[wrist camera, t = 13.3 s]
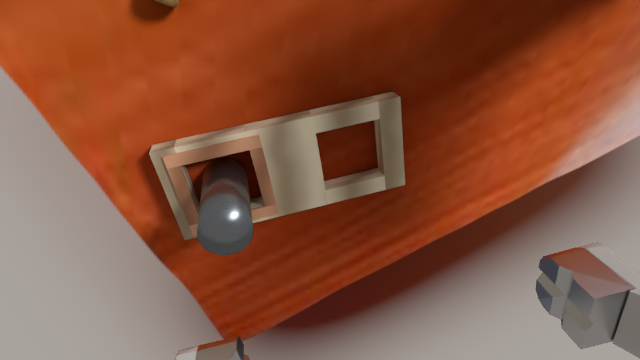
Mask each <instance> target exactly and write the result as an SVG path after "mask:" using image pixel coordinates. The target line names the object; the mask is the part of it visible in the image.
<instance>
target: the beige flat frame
mask: <svg viewBox="0 0 640 360" xmlns="http://www.w3.org/2000/svg"><path fill="white" fill-rule="evenodd" d="M372 120H374V127H375V138H376V149H377V160H378V168H375V169H371V170H367V171H363V172H359V173H355V174H351V175H347V176H343V177H339V178H335V179H330V180H326V181H324V178H323V172H322V166H321V160H320V155H319V149H318V143H317V137H316V133H320V132H324V131H329V130H333V129H338V128H342V127H346V126H351V125H355V124H359V123H364V122H368V121H372ZM247 150H250V153H251V157H252V161H253V165H254V168H255V172H256V176H257V179H258V183H259V187H260V191H261V194H262V196H261V197H257V198H253V199H250V205H251V214H252V223H256V222H260V221H264V220H268V219H272V218H276V217H280V216H284V215H288V214H292V213H296V212H299V211H303V210H307V209H311V208H315V207H319V206H323V205H327V204H331V203H335V202H339V201H343V200H347V199H351V198H355V197H359V196H363V195H367V194H371V193H375V192H379V191H383V190H387V189H391V188H395V187H399V186H403V185H405V170H404V152H403V134H402V115H401V97H400V96H399V95H397V94H396V93H394V92H393V91H392V92H388V93H383V94H379V95H374V96H370V97H365V98H361V99H356V100H352V101H347V102H343V103H338V104H334V105H329V106H325V107H320V108H316V109H311V110H307V111H302V112H298V113H293V114H289V115H284V116H280V117H275V118H271V119H266V120H262V121H258V122H253V123H249V124H244V125H240V126H235V127H231V128H226V129H222V130H217V131H213V132H208V133H204V134H199V135H195V136H190V137H186V138H181V139H177V140H172V141H168V142H163V143H159V144H154V145H152V147H151V149H150V152H149V155H150V157H151V160H152V162H153V165H154V167H155V169H156V172H157V174H158V177H159V179H160V182H161V184H162V186H163V189H164V191H165V194H166V196H167V199H168V201H169V204H170V206H171V208H172V211H173V213H174V216H175V218H176V221H177V223H178V225H179V228H180V230H181V233H182V235H183V238H184V240H188V239H192V238H196V237H197V226H198V217H199V207H200V203H199V200H198V197H197V195H196V192H195V189H194V186H193V184H192V181H191V178H190V175H189V173H188V170H187V167H186V164H191V163H195V162H200V161H204V160H208V159H213V158H217V157H221V156H226V155H230V154H234V153H239V152H243V151H247Z"/></svg>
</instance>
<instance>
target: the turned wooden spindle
mask: <svg viewBox="0 0 640 360" xmlns="http://www.w3.org/2000/svg"><path fill="white" fill-rule="evenodd" d="M155 1H157V2H159V3H161V4H164V5H167V6H170V7H174V8H175V7H177V6H179V4H180V0H155Z"/></svg>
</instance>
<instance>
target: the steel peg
mask: <svg viewBox="0 0 640 360" xmlns="http://www.w3.org/2000/svg"><path fill="white" fill-rule="evenodd" d="M252 237H253V223H252V214H251V205H250V196H249V187H248V178H247V172H246V169H245V167H244V166H243V165H242V164H241V163H240V162H239V161H237V160H235V159H233V158H229V157H221V158H217V159H215V160H213V161H211V162H210V163H209V164H208V165H207V166H206V167H205V169H204V172H203V179H202V189H201V198H200V207H199V217H198V226H197V238H198V241H199V243H200V244H201V245H202V246H203V248H205V249H206V250H208V251H209V252H211V253H214V254H218V255H230V254H234V253H237V252H239V251H241V250H243V249H244V248H245V247H246V246H247V245H248V244H249V243H250V241H251V239H252Z"/></svg>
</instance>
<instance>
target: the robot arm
mask: <svg viewBox="0 0 640 360" xmlns="http://www.w3.org/2000/svg"><path fill="white" fill-rule="evenodd" d="M539 268H540V270H542V272H543V273H542V274H541V275H540V276H539V278H538V279H537V281H536V292H537V295H538V299H539V300H540V302H541V304H542V305H543V307H544V308H545V309H546V311H547V312H548V313H549V314H550V315H553V316H555V317H557V318H559V319H561V325H562V329H563V330H564V331H565V332H566V333H567V334H568V335H569V336H570V338H571V339H572V340H573V341H574V342H575V343H576V344H577V346H578V347H579V348H580V349H583V348H587V347H591V346H595V345H599V344H603V343H608V342H612V341H613V344H615V345H617V346H619V347H620V348H622V349H624V350H626V351H628V352H630V353H631V354H633V355H635V356H637V357H639V358H640V272H639V271H638V270H636V269H635V268H634V267H632V266H631V265H630V264H628V263H627V262H626V261H625V260H623V259H622V258H621V257H619V256H618V255H617V254H616V253H614V252H613V251H612V250H610V249H609V248H608V247H606V246H605V245H603V244H601V243H598V242H596V243H592V244H589V245H585V246H581V247H578V248H573V249H569V250H565V251H561V252H558V253H554V254H551V255H547V256H543V258H542V259H541V260H540V263H539ZM175 360H250V359H249V357H248V356H247V355H245V354H244V345H243V342H242V340H241V338H240V337H234V338H229V339H225V340H221V341H216V342H212V343H208V344H204V345H199V346H196V347H192V348H187V349H184V350H179V352H178V353H177V356H176V358H175Z"/></svg>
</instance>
